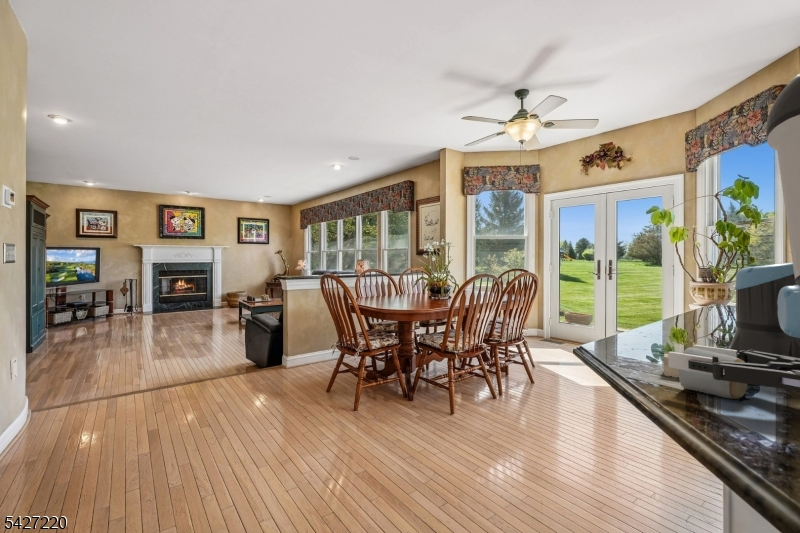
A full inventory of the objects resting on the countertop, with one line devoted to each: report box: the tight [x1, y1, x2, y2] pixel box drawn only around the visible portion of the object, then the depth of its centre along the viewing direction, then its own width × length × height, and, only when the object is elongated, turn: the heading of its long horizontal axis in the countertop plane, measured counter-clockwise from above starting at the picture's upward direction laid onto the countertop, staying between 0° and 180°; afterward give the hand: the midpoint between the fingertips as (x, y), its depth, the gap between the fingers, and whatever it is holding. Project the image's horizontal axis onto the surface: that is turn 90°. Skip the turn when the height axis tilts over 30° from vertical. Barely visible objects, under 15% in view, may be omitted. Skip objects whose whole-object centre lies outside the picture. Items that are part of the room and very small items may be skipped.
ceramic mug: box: [679, 346, 749, 400], centre depth 67 cm, size 11×8×8 cm
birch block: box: [663, 353, 679, 378], centre depth 78 cm, size 4×4×4 cm
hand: (682, 355), depth 70 cm, fingers open, 10 cm apart
